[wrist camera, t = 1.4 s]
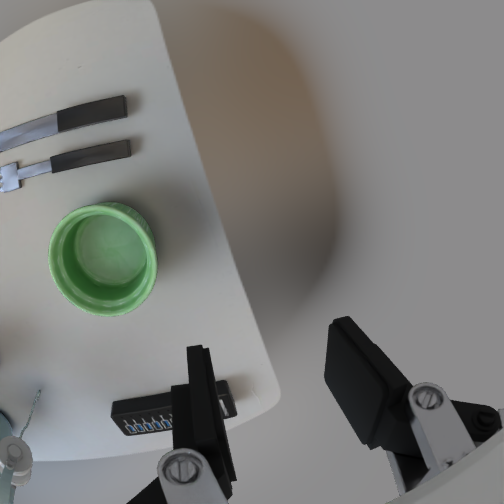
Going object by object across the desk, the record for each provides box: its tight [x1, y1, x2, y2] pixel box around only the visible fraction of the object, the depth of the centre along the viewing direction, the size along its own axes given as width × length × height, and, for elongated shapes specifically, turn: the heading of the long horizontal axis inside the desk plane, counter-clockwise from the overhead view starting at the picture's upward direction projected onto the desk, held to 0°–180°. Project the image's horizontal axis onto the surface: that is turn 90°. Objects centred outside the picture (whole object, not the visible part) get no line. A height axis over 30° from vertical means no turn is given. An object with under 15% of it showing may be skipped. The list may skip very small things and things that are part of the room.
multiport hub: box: [111, 380, 237, 436], centre depth 31 cm, size 4×14×2 cm, turn 101°
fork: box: [0, 140, 131, 193], centre depth 21 cm, size 2×15×1 cm, turn 94°
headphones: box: [0, 390, 40, 504], centre depth 19 cm, size 8×4×20 cm, turn 146°
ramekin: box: [48, 202, 158, 317], centre depth 23 cm, size 9×9×4 cm
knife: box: [0, 95, 127, 152], centre depth 19 cm, size 2×14×1 cm, turn 94°
